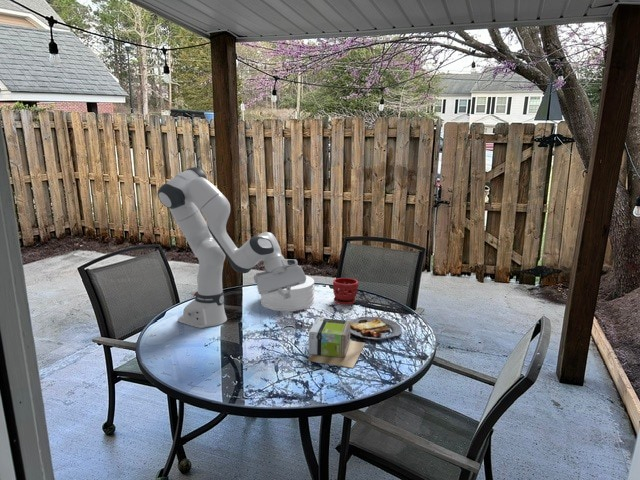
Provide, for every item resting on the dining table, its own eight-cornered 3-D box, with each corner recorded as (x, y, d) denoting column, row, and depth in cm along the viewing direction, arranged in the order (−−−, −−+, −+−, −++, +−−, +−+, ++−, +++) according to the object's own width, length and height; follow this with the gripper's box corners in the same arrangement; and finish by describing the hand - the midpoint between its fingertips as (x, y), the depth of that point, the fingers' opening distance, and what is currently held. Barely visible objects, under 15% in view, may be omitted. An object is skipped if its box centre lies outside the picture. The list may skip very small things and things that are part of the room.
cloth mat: (307, 360, 169) (307, 360, 169) (324, 337, 190) (324, 336, 190) (352, 368, 164) (352, 367, 164) (365, 343, 184) (365, 342, 184)
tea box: (308, 355, 173) (345, 358, 170) (308, 331, 171) (345, 334, 168) (316, 339, 188) (350, 342, 185) (316, 316, 186) (351, 319, 183)
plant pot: (358, 306, 226) (359, 284, 223) (332, 306, 226) (333, 284, 224) (356, 298, 239) (357, 277, 236) (332, 297, 239) (332, 276, 236)
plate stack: (319, 295, 243) (319, 275, 241) (306, 313, 216) (306, 291, 214) (271, 291, 249) (271, 271, 247) (253, 308, 223) (252, 286, 220)
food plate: (360, 346, 182) (361, 338, 181) (336, 325, 203) (336, 318, 202) (411, 337, 192) (411, 330, 191) (383, 319, 213) (383, 312, 212)
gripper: (252, 271, 176) (263, 302, 170) (300, 258, 183) (311, 288, 177) (251, 277, 181) (262, 308, 176) (298, 265, 188) (309, 294, 183)
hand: (287, 298), depth 177 cm, fingers closed
